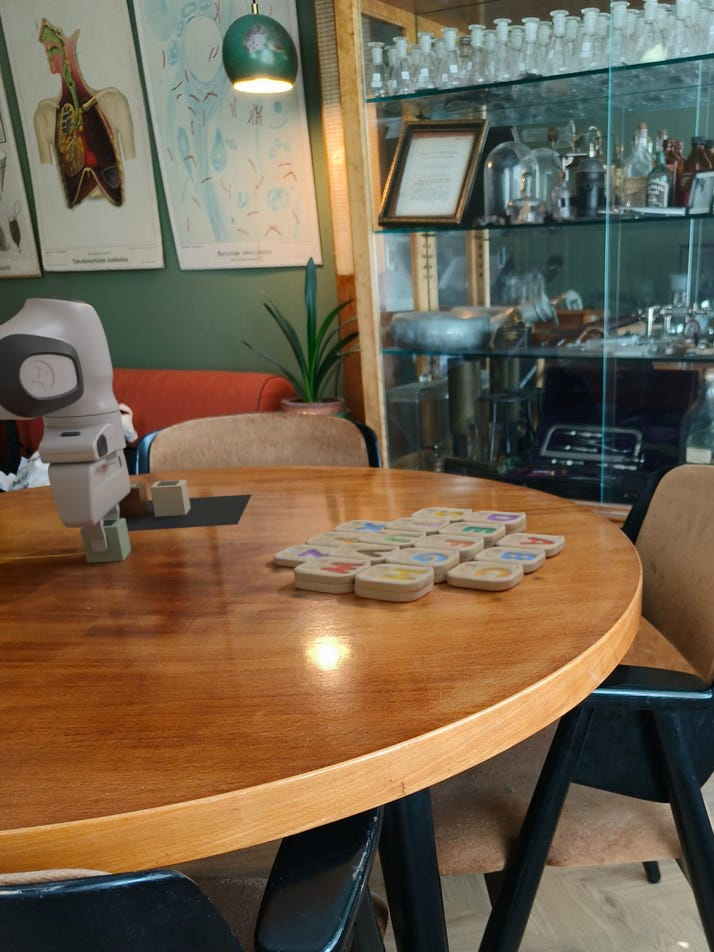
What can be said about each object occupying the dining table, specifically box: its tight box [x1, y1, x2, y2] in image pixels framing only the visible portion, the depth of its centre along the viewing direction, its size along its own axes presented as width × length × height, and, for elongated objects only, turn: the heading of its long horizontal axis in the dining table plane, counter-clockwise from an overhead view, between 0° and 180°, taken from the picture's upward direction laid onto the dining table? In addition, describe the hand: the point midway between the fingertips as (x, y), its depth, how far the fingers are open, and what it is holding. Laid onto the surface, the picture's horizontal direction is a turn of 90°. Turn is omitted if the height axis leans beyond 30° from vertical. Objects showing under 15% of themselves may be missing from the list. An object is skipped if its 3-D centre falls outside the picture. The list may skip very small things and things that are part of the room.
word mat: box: [79, 494, 253, 535], centre depth 136 cm, size 22×20×1 cm
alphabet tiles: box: [272, 506, 566, 603], centre depth 111 cm, size 33×33×2 cm
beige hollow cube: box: [150, 479, 191, 517], centre depth 135 cm, size 4×4×5 cm
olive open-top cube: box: [80, 518, 132, 564], centre depth 114 cm, size 4×4×5 cm
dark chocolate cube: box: [118, 481, 150, 519], centre depth 134 cm, size 4×4×5 cm
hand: (107, 544), depth 114 cm, fingers closed on olive open-top cube, 4 cm apart
